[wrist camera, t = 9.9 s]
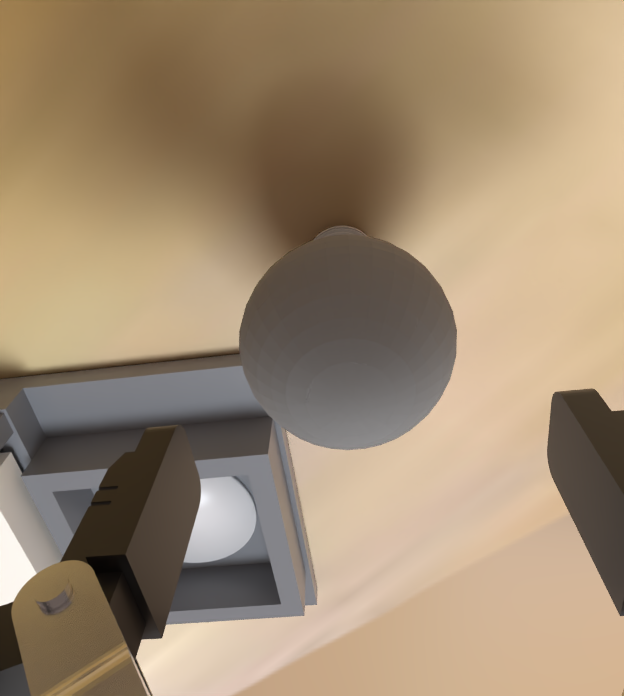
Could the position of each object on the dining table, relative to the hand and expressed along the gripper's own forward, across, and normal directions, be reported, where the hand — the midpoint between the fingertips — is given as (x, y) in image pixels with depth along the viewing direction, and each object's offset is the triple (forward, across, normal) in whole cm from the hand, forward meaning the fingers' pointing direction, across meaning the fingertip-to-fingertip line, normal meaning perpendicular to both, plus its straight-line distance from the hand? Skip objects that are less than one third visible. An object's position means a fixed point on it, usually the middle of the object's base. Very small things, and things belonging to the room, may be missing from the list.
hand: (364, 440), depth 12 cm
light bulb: (+11, 0, 0) cm, 11 cm away
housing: (+11, +14, +12) cm, 22 cm away
